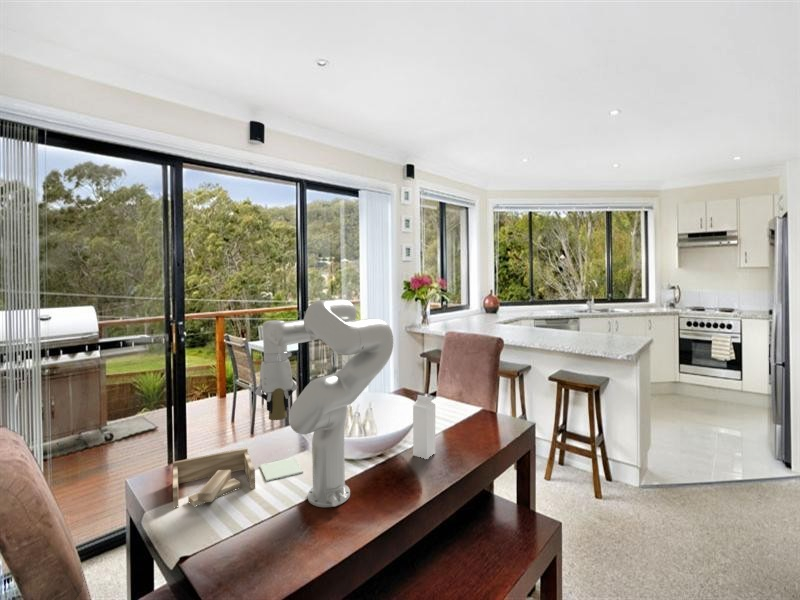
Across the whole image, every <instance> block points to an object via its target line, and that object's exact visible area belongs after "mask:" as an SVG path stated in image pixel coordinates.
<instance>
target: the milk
mask: <svg viewBox="0 0 800 600" xmlns="http://www.w3.org/2000/svg"><path fill="white" fill-rule="evenodd" d="M412 410H413V411H412V417H413V418H412V422H413V424H412V427H413V428H412V429H413V430H412V431H413V434H412V436H413V437H412V445H413V446H412V448H413V449H412V452H413V453H412V456H413V457H414V456H415V457H416V458H417V457H418V458H420V457H421V458H420V459H423V458H424V460H426V459H427V460H428V459H430V458H431V457H433V456H434V455H435V454H436V403H435V402H432V397H430V396H426V395H419V394H417V399H416V401H415V402H414V403H413V405H412ZM433 454H434V455H433ZM432 455H433V456H432ZM430 456H431V457H430ZM429 457H430V458H429Z"/></svg>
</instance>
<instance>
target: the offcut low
mask: <svg viewBox="0 0 800 600" xmlns="http://www.w3.org/2000/svg"><path fill="white" fill-rule="evenodd" d="M238 488H240V489H241V481H239V480H237V479H236V478H234V477H233V478H230V479H229V481H228V482H227V483H226V485H225V486H224V487H223V488H222V490H221V491H220V492H219V494H218V495H217V496H216V497H218V498H220V497H222V496H221V495H223V494H225V495H227V494H226V493H228V492H230V493H232V492H234V491H233V490H235V489H237V490H239V489H238ZM231 491H232V492H231ZM235 491H236V490H235ZM199 492H200V491H199ZM199 492H196V493H194V494H191V495H189V496H188V498H187V499H188V503H189V502H190V503H191V504H192V505H193V506H196V505H199V504H201V505H203V504H205V503H204V502H198V493H199ZM228 494H229V493H228ZM219 496H220V497H219ZM223 496H224V495H223ZM216 497H215V498H216ZM216 499H217V498H216ZM190 503H189V504H190ZM202 503H203V504H202ZM191 504H190V505H191ZM192 505H191V506H192ZM193 506H192V507H193ZM199 506H200V505H199ZM196 507H197V506H196Z"/></svg>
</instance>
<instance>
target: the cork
mask: <svg viewBox="0 0 800 600" xmlns="http://www.w3.org/2000/svg"><path fill="white" fill-rule="evenodd" d="M271 394H272V395H271V401H272V407H273V408H272V413H271V414H270V411H268V420H270V421H281V420H284V419H286V418H287V417H288V414H287V411H285V406H284V396H283V394H284V390H283V389H281V388H277V389H275V390H274V392H271Z"/></svg>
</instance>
